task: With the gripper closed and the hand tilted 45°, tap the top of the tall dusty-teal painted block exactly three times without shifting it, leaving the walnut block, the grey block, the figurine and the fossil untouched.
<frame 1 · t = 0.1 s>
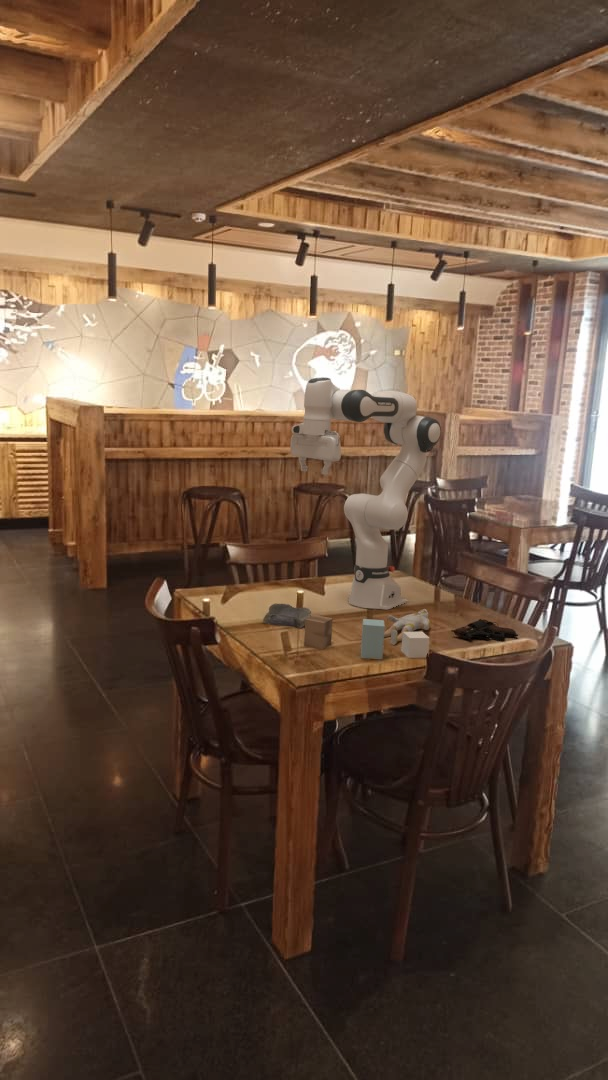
hand: (314, 472, 252), 48 cm above the table, tool pointing down, fingers open, 8 cm apart
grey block: (414, 654, 228), on the table
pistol: (485, 638, 249), on the table
fossil: (288, 621, 255), on the table
walnut block: (317, 645, 231), on the table
figurine: (405, 633, 249), on the table
teal block: (371, 656, 224), on the table
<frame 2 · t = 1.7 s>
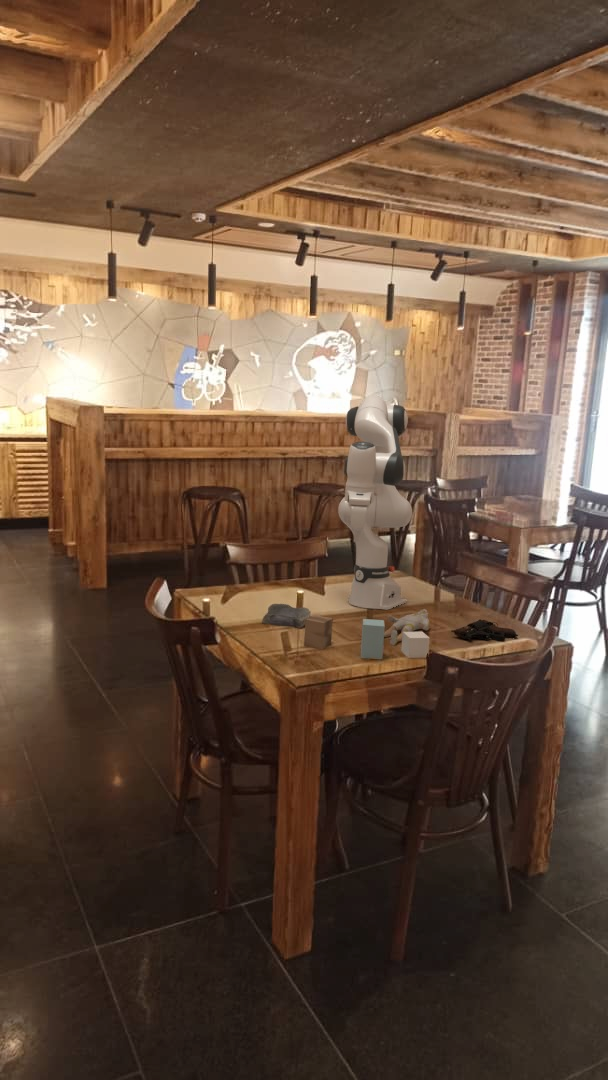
hand: (356, 540, 241), 29 cm above the table, tool pointing down, fingers open, 4 cm apart
nothing on the table moved.
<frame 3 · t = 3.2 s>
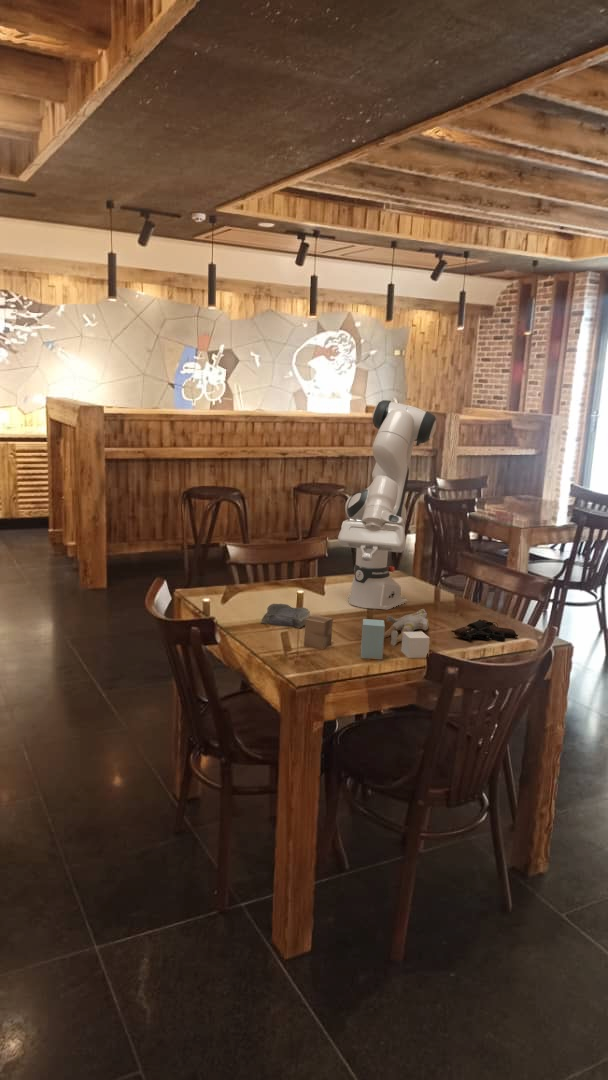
hand: (366, 560, 232), 25 cm above the table, tool tilted 40°, fingers closed
nothing on the table moved.
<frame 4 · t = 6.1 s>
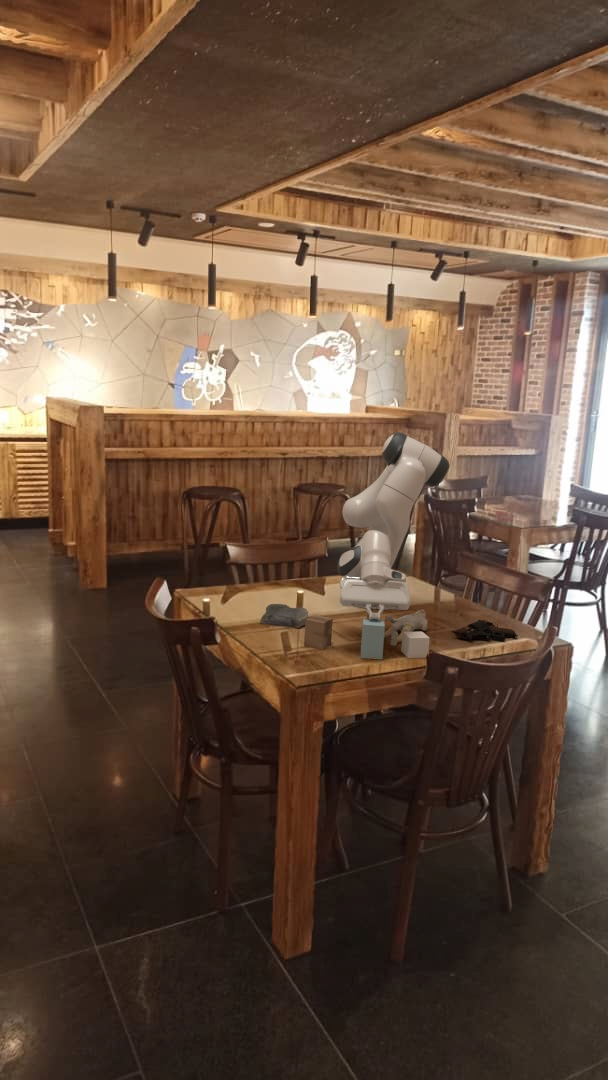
hand: (374, 619, 223), 11 cm above the table, tool tilted 45°, fingers closed, pressing on teal block
teal block: (371, 656, 224), on the table, touching gripper
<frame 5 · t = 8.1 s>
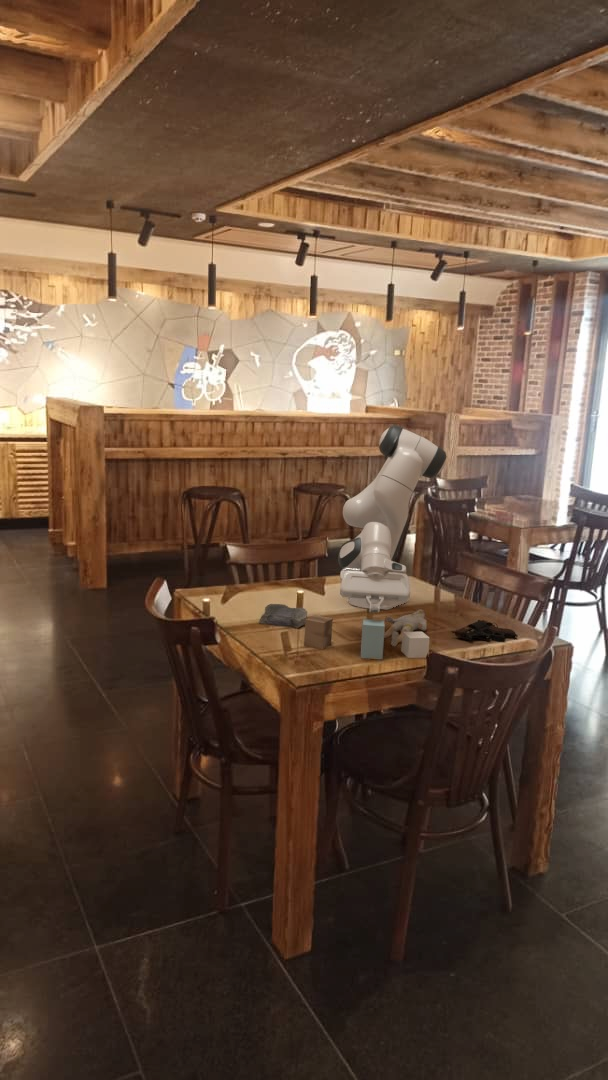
hand: (374, 611, 222), 13 cm above the table, tool tilted 45°, fingers closed
teal block: (371, 656, 224), on the table
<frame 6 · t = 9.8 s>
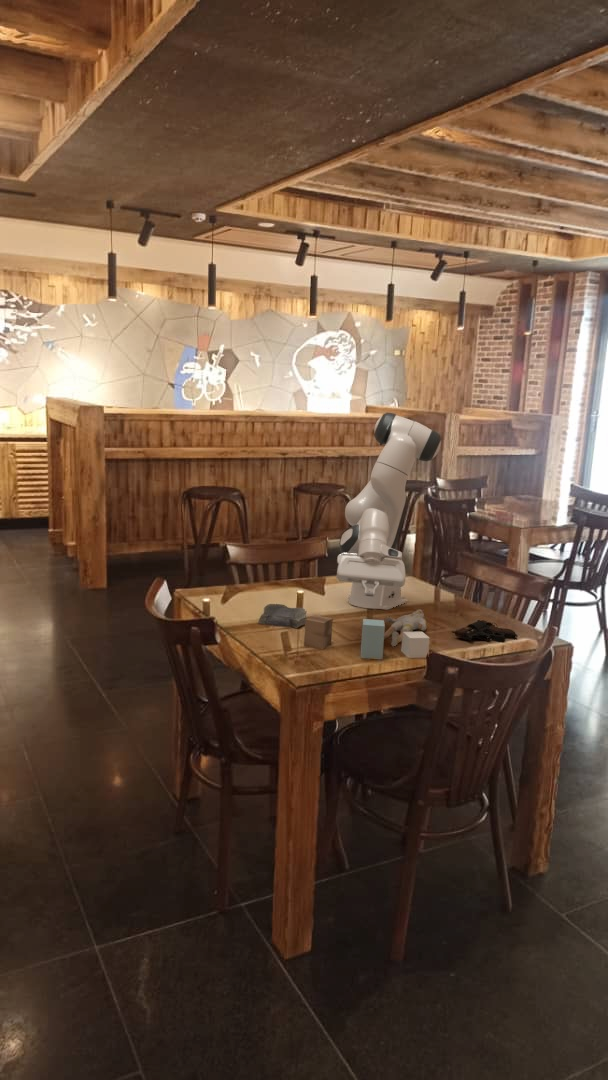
hand: (369, 595, 227), 16 cm above the table, tool tilted 45°, fingers closed
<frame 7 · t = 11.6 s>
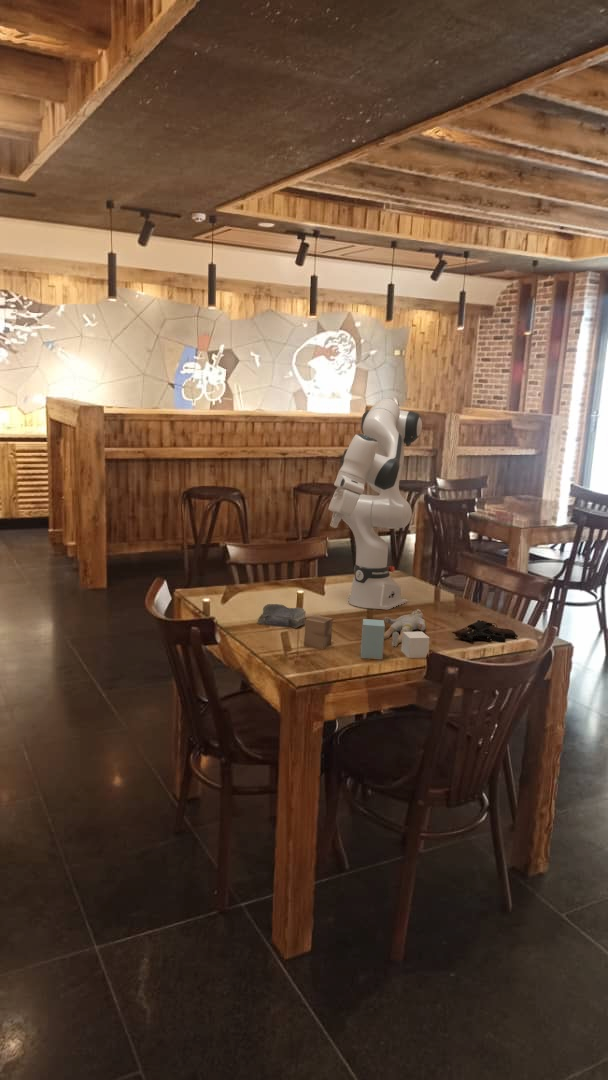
hand: (333, 527, 241), 33 cm above the table, tool tilted 20°, fingers closed
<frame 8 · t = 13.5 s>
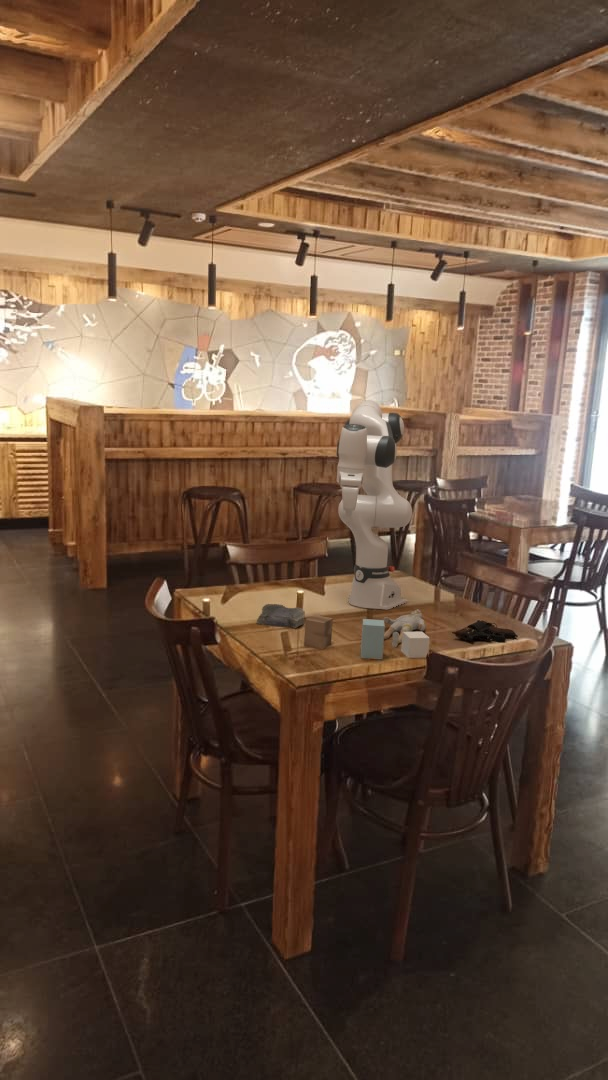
hand: (348, 521, 246), 34 cm above the table, tool pointing down, fingers closed
at the end: teal block moved 0.1 cm from its start; teal block tilted 0°; walnut block moved 0.1 cm from its start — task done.
